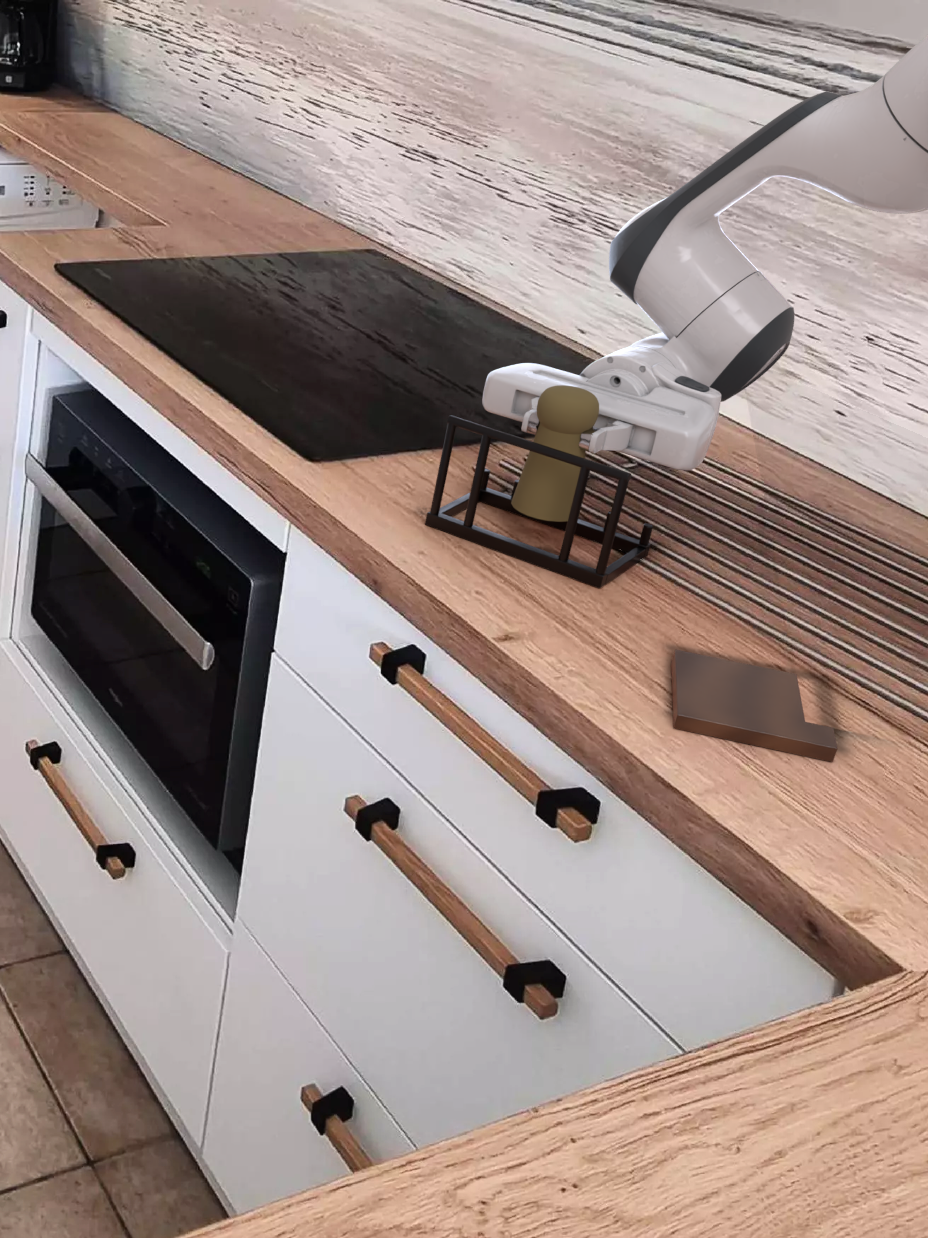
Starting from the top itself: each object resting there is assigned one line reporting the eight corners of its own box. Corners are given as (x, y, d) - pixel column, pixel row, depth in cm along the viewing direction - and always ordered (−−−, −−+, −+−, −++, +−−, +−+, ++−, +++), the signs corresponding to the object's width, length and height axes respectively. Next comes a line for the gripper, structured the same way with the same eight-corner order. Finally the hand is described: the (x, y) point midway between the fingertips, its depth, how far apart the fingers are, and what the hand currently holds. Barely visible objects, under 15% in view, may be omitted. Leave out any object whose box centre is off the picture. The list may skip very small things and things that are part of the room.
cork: (591, 521, 146) (620, 402, 141) (526, 521, 145) (553, 401, 140) (563, 494, 151) (590, 378, 146) (500, 493, 150) (525, 377, 145)
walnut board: (818, 692, 128) (823, 679, 127) (833, 762, 119) (837, 748, 118) (670, 662, 130) (674, 648, 130) (673, 728, 121) (677, 714, 120)
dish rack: (477, 496, 158) (499, 392, 153) (647, 556, 149) (677, 447, 144) (424, 524, 151) (446, 416, 146) (600, 589, 141) (629, 475, 137)
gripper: (528, 338, 158) (458, 367, 148) (740, 397, 147) (679, 432, 137) (515, 401, 161) (445, 434, 151) (721, 464, 150) (661, 503, 140)
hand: (558, 433), depth 144 cm, fingers closed on cork, 4 cm apart
